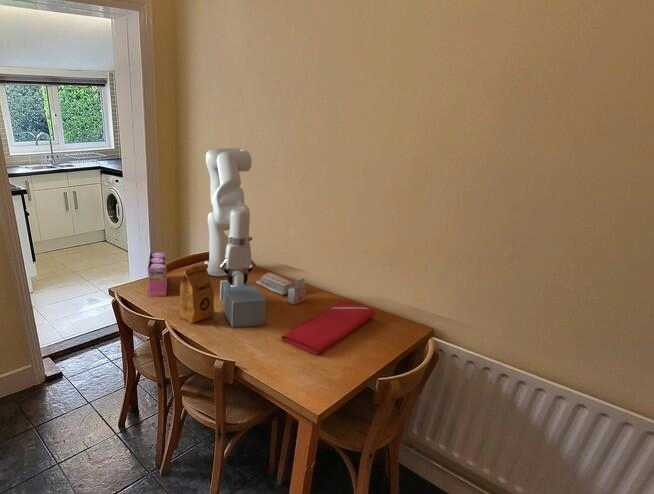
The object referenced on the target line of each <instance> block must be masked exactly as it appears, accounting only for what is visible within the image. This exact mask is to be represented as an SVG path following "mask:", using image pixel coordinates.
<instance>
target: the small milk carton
mask: <svg viewBox="0 0 654 494" xmlns="http://www.w3.org/2000/svg"><path fill="white" fill-rule="evenodd" d="M306 286H307V285H306V282H305V278H304V277H303V278H299V279H296V280H293V281H292V284H291V286H290V287H289V289H288V294H287V303H289V304H291V305H297V304H301V303H303V302H305V301H306V293H307V292H306V291H307V287H306Z"/></svg>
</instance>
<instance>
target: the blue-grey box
mask: <svg viewBox="0 0 654 494" xmlns="http://www.w3.org/2000/svg"><path fill="white" fill-rule="evenodd" d="M266 303H267V300H266V298H265V297H264V296H263V294H262V293H261V292H260V290H259V289H258V288H257V287H256V285H249V286H239V287H225V288H224V302H223V313H224V314H225V316H226V318H227V320H228V322H229V324H230V326H231V328H244V327H254V326H255V327H256V326H265V319H266V317H265V315H266Z"/></svg>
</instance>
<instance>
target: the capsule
mask: <svg viewBox="0 0 654 494" xmlns="http://www.w3.org/2000/svg"><path fill="white" fill-rule="evenodd" d="M239 286H244V274H243V272H242V271H241V270H235V271H232V285H231V287H239Z"/></svg>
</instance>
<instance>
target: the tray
mask: <svg viewBox="0 0 654 494" xmlns="http://www.w3.org/2000/svg"><path fill="white" fill-rule="evenodd" d="M219 284H220V286H219V287H220V288H219V290H220V292H219V300H220V301H222V302H223V303H224V288H225V287H231V285H230V284H229V282H228V279H227V280H226V279H225V280H220V283H219ZM244 286H250V284H249V283H248V280H247V281H246V284H244Z"/></svg>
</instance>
